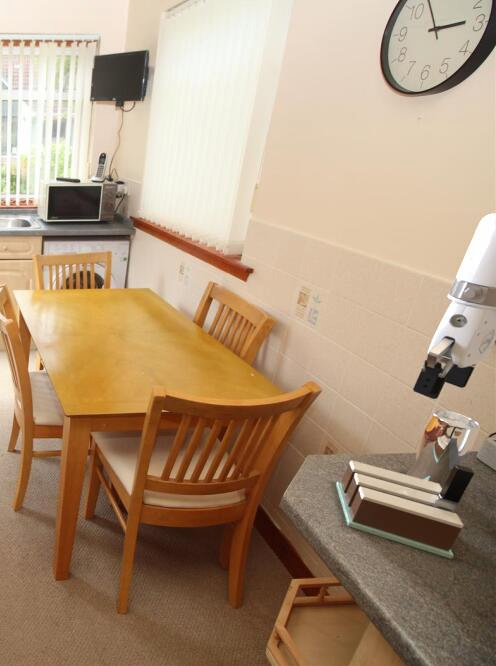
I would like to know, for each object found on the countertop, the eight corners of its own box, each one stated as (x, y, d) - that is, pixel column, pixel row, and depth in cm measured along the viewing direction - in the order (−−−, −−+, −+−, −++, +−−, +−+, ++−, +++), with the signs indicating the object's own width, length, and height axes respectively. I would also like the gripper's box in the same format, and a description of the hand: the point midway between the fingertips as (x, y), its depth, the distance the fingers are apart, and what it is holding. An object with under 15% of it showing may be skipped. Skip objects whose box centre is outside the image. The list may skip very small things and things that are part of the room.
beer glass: (445, 501, 89) (480, 434, 83) (398, 481, 93) (428, 416, 88) (450, 485, 93) (484, 420, 87) (405, 467, 98) (434, 404, 92)
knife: (437, 533, 80) (473, 468, 75) (440, 539, 79) (477, 473, 74) (419, 527, 81) (452, 463, 76) (421, 533, 80) (456, 468, 75)
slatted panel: (427, 511, 86) (441, 482, 84) (452, 559, 76) (469, 529, 74) (335, 484, 92) (346, 457, 89) (347, 526, 82) (360, 497, 79)
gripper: (490, 308, 67) (441, 411, 74) (538, 295, 75) (490, 390, 81) (426, 292, 74) (386, 388, 80) (476, 282, 81) (436, 371, 87)
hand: (438, 389), depth 81 cm, fingers open, 9 cm apart
